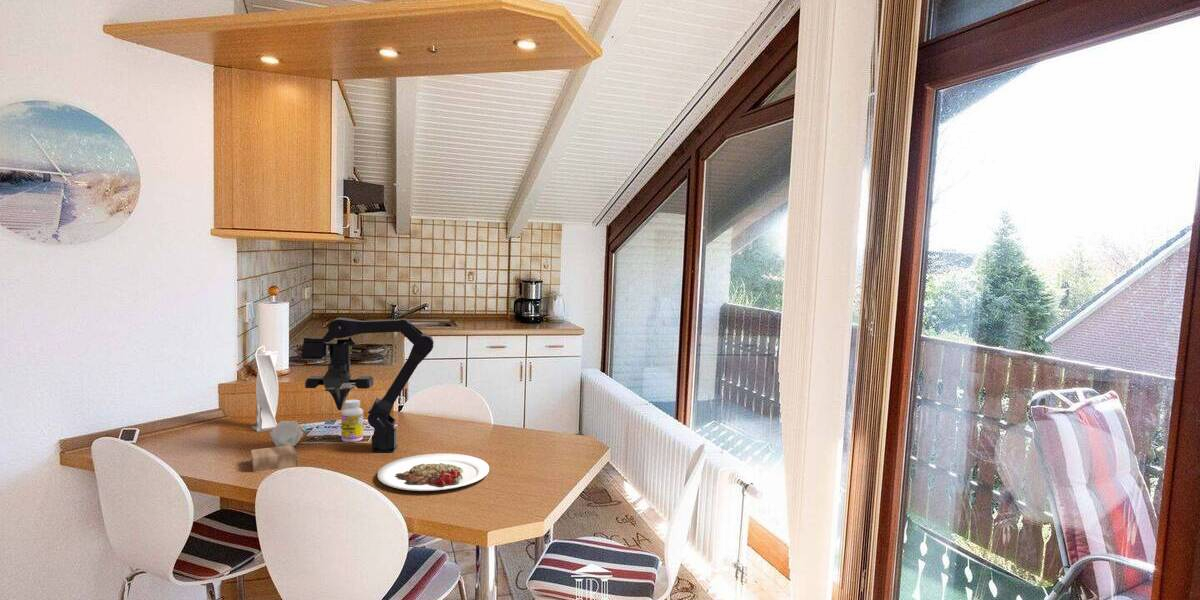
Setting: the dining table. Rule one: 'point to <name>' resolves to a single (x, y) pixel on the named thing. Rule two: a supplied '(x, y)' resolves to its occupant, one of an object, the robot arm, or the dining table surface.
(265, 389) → the skyscraper
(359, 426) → the supplement bottle
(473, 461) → the plated food
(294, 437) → the die
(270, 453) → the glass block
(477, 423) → the dining table surface
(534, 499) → the dining table surface
